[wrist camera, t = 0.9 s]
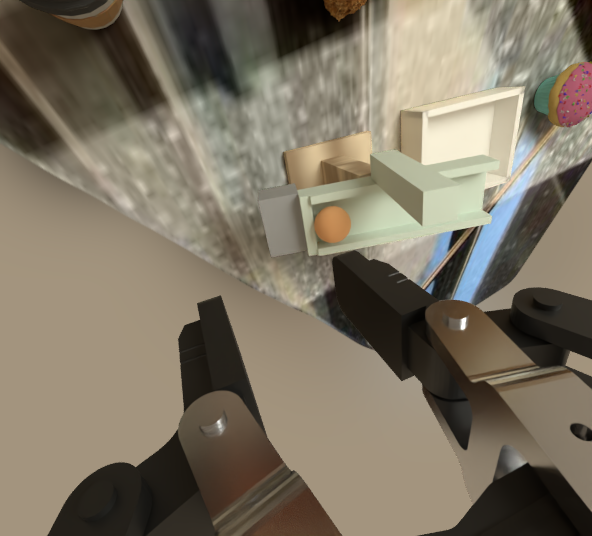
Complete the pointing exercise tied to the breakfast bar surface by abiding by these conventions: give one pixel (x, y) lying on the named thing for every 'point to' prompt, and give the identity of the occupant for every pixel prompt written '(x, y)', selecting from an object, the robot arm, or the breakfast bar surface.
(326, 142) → the fulcrum stand
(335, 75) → the breakfast bar surface
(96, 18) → the coffee cup
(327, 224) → the ball
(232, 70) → the breakfast bar surface
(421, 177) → the tilting chute
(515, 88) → the tub
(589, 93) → the cupcake
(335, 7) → the stuffed squirrel
